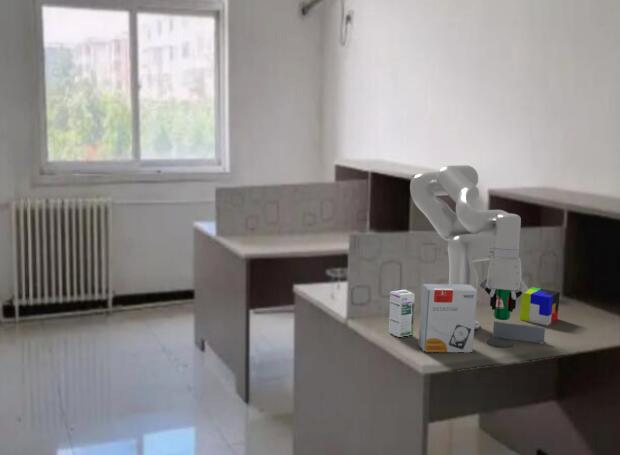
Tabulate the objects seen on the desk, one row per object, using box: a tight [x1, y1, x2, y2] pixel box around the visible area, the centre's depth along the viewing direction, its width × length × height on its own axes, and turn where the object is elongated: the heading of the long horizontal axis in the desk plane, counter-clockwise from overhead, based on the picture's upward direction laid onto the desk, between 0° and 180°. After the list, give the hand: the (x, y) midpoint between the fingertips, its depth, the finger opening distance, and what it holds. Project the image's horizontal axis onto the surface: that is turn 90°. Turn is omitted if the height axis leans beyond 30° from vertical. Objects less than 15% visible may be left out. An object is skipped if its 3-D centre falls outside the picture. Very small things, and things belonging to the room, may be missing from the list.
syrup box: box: [388, 289, 415, 337], centre depth 246 cm, size 6×6×14 cm
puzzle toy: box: [519, 286, 561, 326], centre depth 268 cm, size 10×10×10 cm
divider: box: [491, 320, 546, 345], centre depth 245 cm, size 16×4×5 cm, turn 68°
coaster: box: [486, 337, 514, 348], centre depth 241 cm, size 8×8×1 cm
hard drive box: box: [418, 283, 478, 353], centre depth 233 cm, size 16×8×20 cm, turn 96°
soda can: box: [493, 289, 512, 321], centre depth 239 cm, size 5×5×12 cm
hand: (502, 309), depth 239 cm, fingers closed on soda can, 5 cm apart
